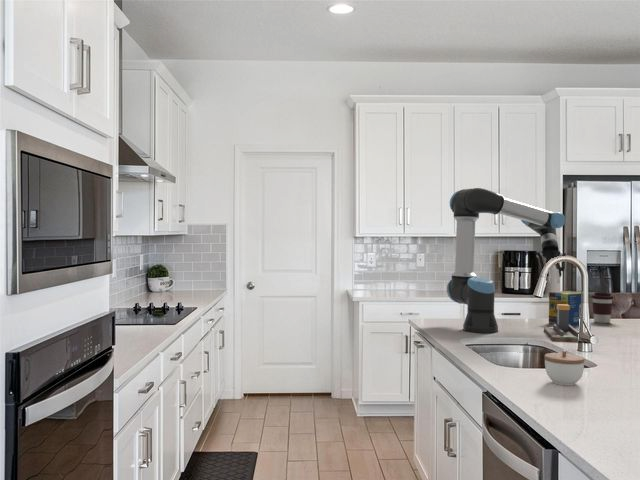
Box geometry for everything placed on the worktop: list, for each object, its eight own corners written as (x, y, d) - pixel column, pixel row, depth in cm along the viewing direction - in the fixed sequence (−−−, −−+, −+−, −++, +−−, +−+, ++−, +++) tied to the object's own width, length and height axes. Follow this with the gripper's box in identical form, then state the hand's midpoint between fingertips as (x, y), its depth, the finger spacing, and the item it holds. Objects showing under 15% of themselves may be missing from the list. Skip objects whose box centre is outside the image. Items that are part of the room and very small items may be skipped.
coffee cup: (608, 320, 294) (608, 291, 294) (616, 323, 284) (616, 293, 284) (588, 320, 295) (588, 291, 295) (595, 323, 285) (595, 293, 285)
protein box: (548, 323, 283) (548, 292, 283) (567, 321, 292) (567, 290, 292) (567, 326, 275) (567, 294, 274) (586, 324, 283) (586, 292, 283)
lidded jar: (564, 389, 161) (565, 355, 161) (536, 380, 171) (536, 348, 171) (592, 385, 165) (593, 353, 165) (563, 377, 175) (563, 346, 175)
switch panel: (552, 340, 236) (552, 332, 236) (544, 330, 261) (544, 323, 261) (589, 342, 233) (589, 333, 233) (577, 332, 258) (577, 324, 258)
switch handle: (558, 330, 252) (558, 305, 252) (556, 328, 257) (556, 304, 256) (569, 330, 251) (569, 305, 251) (567, 329, 255) (567, 304, 255)
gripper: (566, 250, 282) (572, 287, 267) (531, 249, 286) (535, 286, 270) (568, 239, 277) (574, 276, 261) (532, 239, 281) (536, 275, 265)
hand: (554, 281), depth 266 cm, fingers open, 3 cm apart
